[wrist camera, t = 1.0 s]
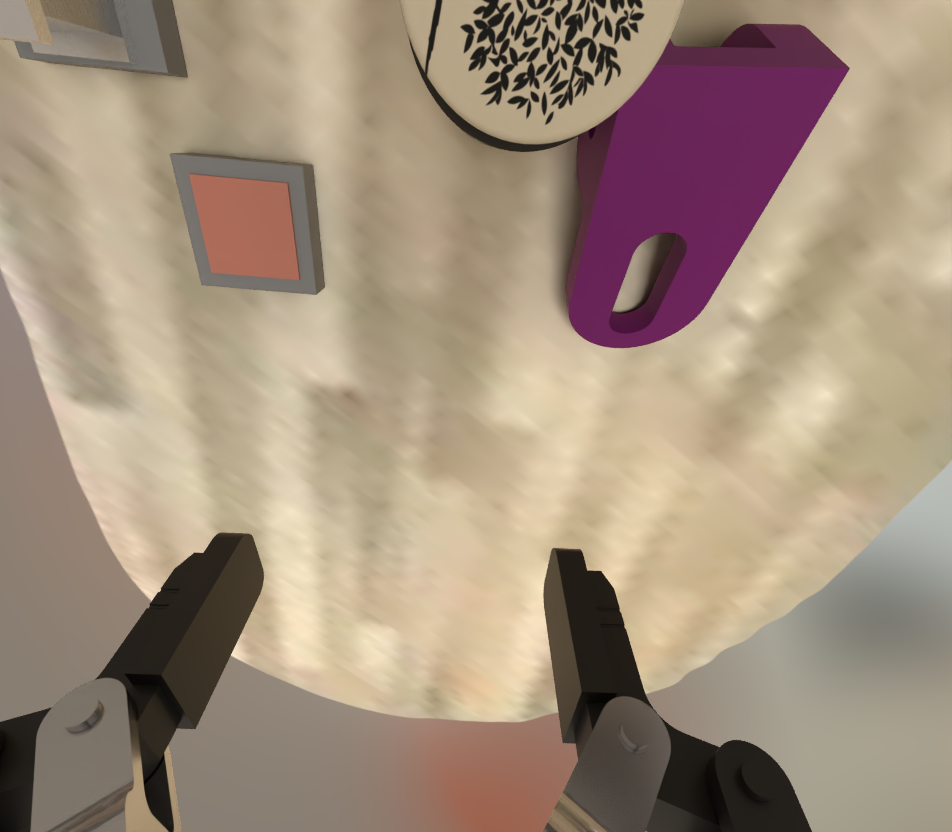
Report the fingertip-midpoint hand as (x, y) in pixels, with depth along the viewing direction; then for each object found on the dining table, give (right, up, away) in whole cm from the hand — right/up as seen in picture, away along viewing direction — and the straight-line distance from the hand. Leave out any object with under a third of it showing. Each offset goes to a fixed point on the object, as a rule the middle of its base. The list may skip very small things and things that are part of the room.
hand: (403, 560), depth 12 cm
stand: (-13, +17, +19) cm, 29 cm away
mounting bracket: (+13, +18, +19) cm, 29 cm away
